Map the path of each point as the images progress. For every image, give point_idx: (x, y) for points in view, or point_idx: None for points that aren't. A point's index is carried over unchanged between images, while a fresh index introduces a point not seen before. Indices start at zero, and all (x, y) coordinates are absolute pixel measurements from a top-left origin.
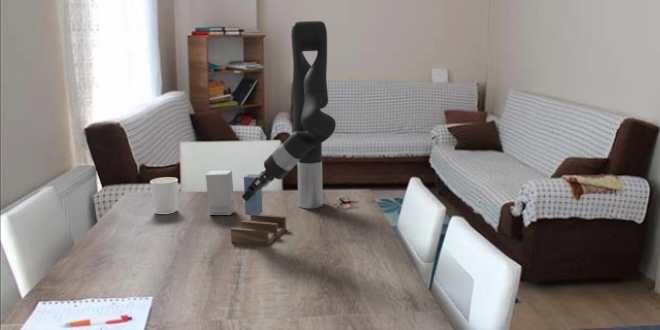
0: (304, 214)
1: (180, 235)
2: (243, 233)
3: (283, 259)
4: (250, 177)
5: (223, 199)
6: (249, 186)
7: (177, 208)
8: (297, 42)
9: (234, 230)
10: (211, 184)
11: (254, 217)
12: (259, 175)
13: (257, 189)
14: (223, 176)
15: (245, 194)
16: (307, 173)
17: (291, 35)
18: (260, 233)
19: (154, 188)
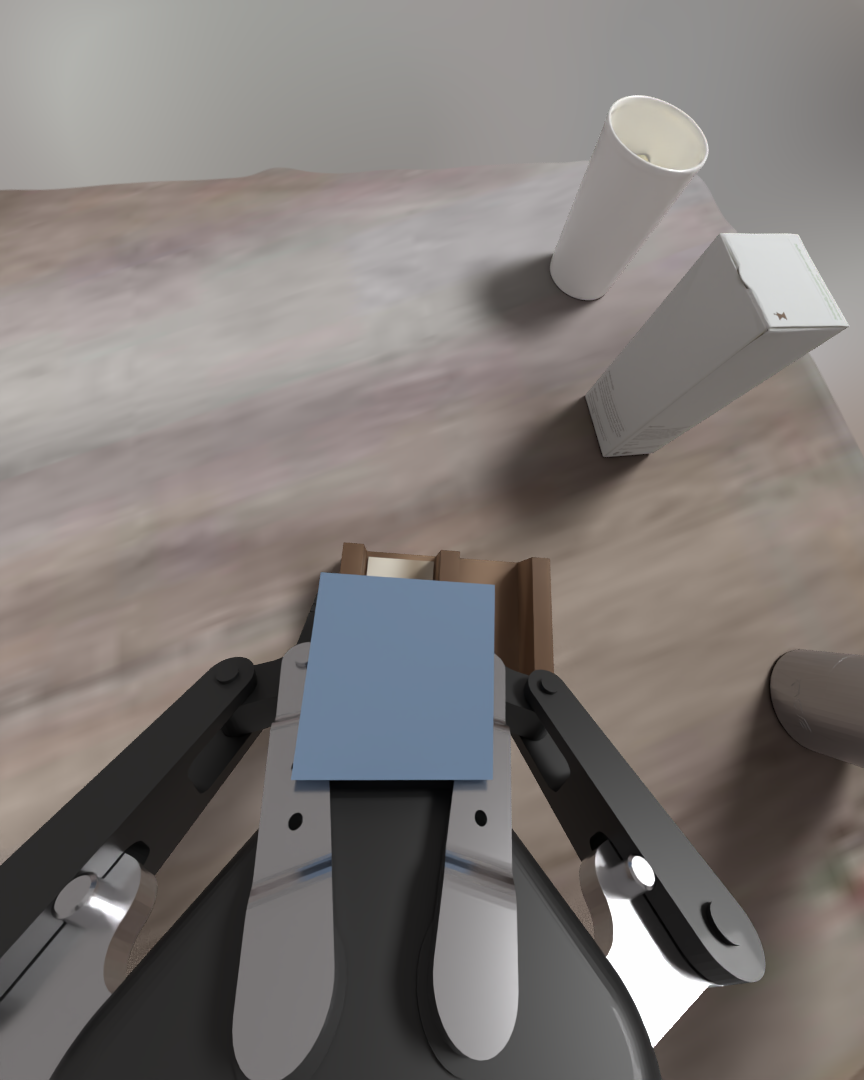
0: (708, 712)
1: (393, 377)
2: None
3: (191, 827)
4: (307, 680)
5: (639, 402)
6: (173, 709)
7: (597, 291)
8: None
9: (341, 560)
10: (680, 306)
11: (528, 575)
12: (251, 907)
13: (209, 791)
14: (745, 319)
15: (310, 612)
16: None
17: None
18: None
19: (596, 145)
